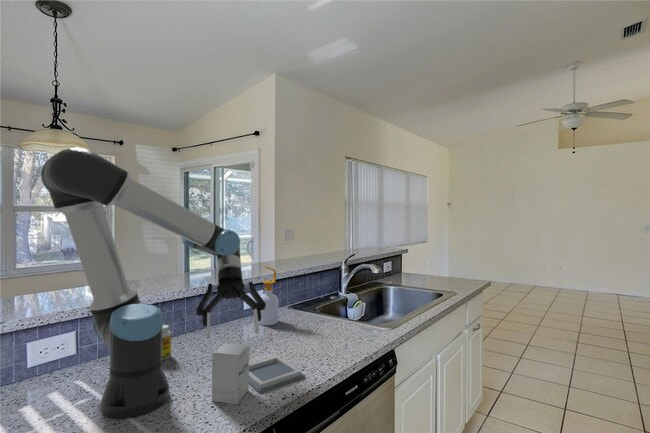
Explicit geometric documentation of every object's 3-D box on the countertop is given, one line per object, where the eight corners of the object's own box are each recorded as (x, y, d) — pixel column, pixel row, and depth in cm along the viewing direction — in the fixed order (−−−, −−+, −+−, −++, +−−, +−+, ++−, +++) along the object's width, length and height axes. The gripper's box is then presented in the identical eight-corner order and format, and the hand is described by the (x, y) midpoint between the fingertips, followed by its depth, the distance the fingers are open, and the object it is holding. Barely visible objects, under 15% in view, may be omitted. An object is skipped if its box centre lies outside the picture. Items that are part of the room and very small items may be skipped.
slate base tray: (259, 393, 93) (259, 386, 93) (235, 372, 105) (235, 366, 105) (304, 377, 103) (304, 371, 103) (278, 359, 114) (278, 354, 114)
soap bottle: (256, 320, 155) (257, 265, 155) (276, 318, 158) (277, 264, 158) (258, 326, 147) (259, 268, 146) (280, 324, 149) (280, 267, 149)
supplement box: (237, 405, 88) (238, 355, 87) (210, 401, 89) (211, 352, 89) (249, 390, 95) (250, 344, 95) (224, 387, 96) (225, 341, 96)
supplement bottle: (152, 362, 111) (152, 330, 111) (152, 355, 116) (152, 325, 116) (171, 359, 114) (172, 328, 113) (170, 352, 119) (170, 323, 118)
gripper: (266, 276, 121) (274, 334, 107) (189, 280, 112) (187, 344, 99) (269, 263, 116) (278, 323, 102) (188, 266, 107) (186, 332, 94)
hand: (233, 333), depth 100 cm, fingers open, 13 cm apart
